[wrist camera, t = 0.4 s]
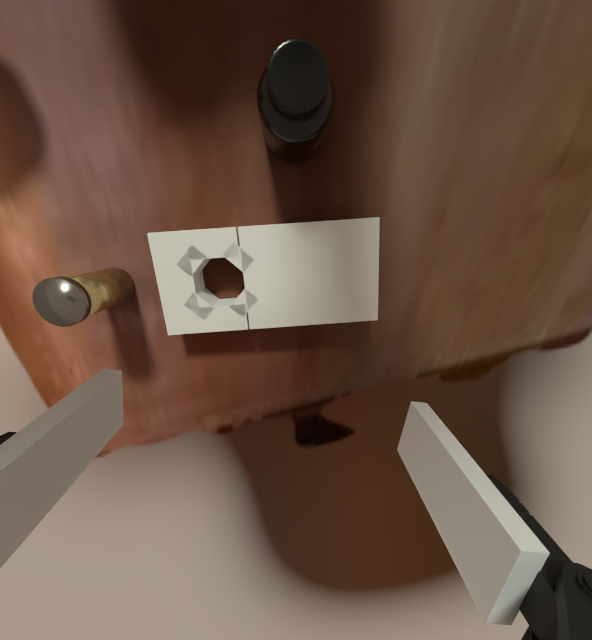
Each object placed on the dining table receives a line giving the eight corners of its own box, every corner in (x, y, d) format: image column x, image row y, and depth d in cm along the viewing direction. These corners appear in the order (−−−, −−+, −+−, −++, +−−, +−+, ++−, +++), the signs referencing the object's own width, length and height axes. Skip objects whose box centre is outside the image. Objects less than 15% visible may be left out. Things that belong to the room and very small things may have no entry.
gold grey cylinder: (93, 267, 37) (25, 279, 27) (131, 265, 37) (76, 276, 27) (103, 304, 38) (41, 328, 29) (139, 301, 38) (90, 324, 29)
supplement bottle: (324, 162, 34) (344, 127, 23) (266, 167, 34) (256, 133, 22) (322, 93, 32) (342, 16, 21) (260, 98, 32) (246, 22, 20)
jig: (162, 233, 36) (147, 233, 32) (369, 218, 36) (379, 217, 32) (179, 325, 39) (168, 335, 35) (368, 311, 39) (377, 320, 36)
